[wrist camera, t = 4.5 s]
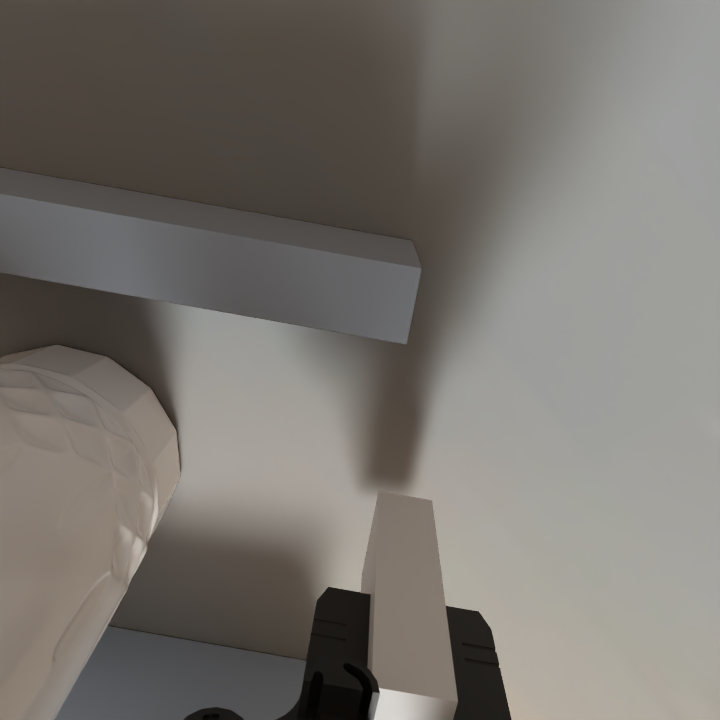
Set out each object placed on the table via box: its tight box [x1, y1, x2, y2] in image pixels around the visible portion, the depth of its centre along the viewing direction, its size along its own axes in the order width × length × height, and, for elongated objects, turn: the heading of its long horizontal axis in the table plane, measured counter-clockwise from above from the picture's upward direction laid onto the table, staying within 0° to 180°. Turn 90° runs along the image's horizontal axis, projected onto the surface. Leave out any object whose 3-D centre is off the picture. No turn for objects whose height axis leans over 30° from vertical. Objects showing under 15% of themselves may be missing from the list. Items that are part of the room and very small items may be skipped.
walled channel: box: [0, 168, 422, 720], centre depth 16 cm, size 16×16×5 cm
